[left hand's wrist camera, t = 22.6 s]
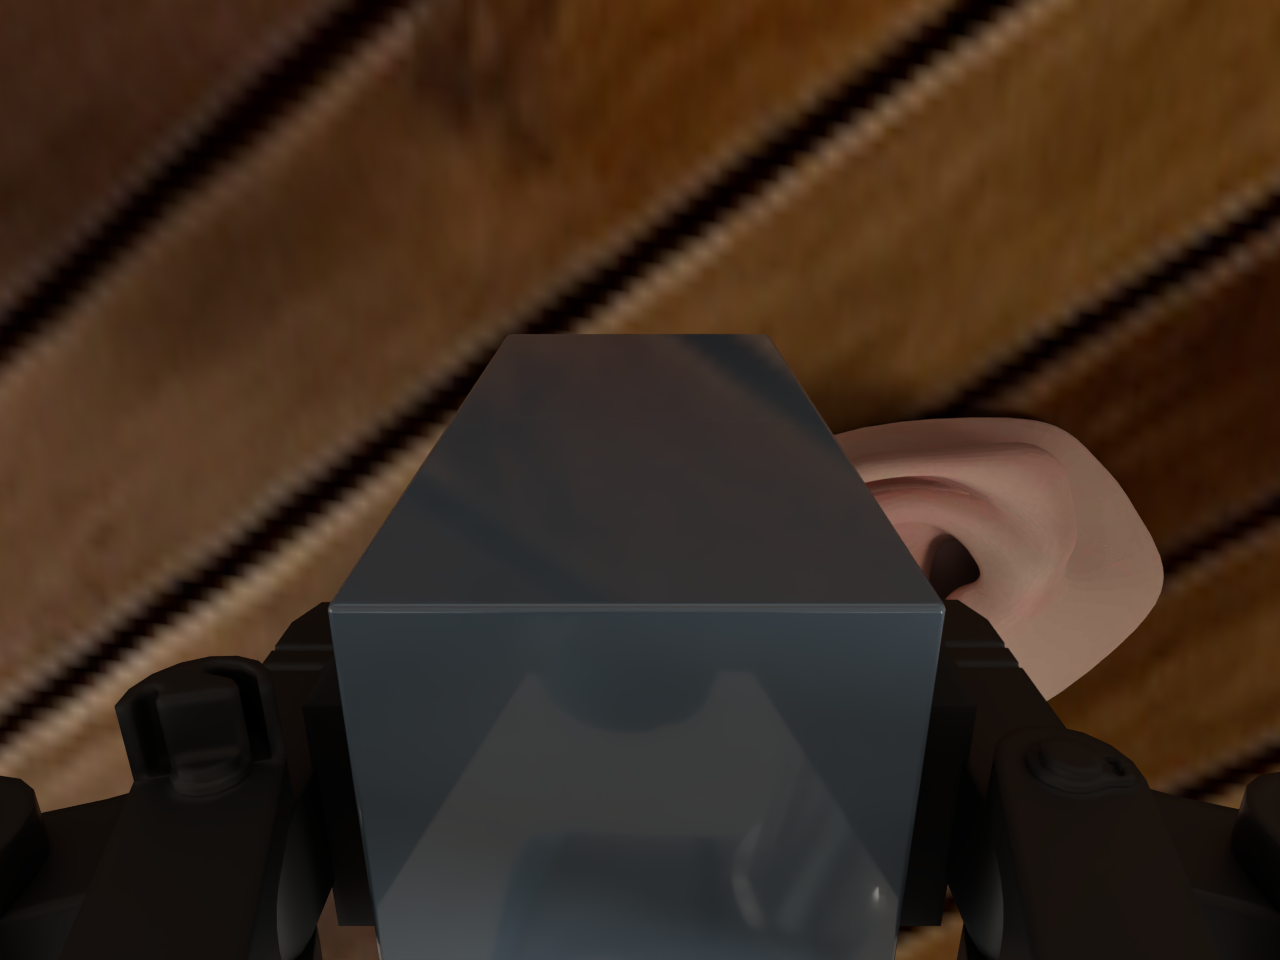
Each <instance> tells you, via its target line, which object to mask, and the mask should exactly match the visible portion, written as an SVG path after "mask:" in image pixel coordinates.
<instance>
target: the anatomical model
mask: <svg viewBox="0 0 1280 960" xmlns="http://www.w3.org/2000/svg"><path fill="white" fill-rule="evenodd" d="M834 436H835V438H836V439H837V441H838V442H839V444H840V445H841V447H842V448H843V450H844V452H845V453H846V455H847V456H848V458H849V459H850V461H851V462H852V464H853V465H854V467H855V468H856V470H857V472H858V473H859V475H860V476H861V478H862V479H863V481H864V482H865V484H866V485H867V487H868V488H869V490H870V491H871V493H872V495H873V496H874V498H875V499H876V501H877V502H878V504H879V505H880V507H881V508H882V510H883V511H884V513H885V514H886V516H887V518H888V519H889V521H890V522H891V524H892V525H893V527H894V528H895V530H896V531H897V533H898V534H899V536H900V538H901V539H902V541H903V542H904V544H905V545H906V547H907V548H908V550H909V551H910V553H911V554H912V556H913V557H914V559H915V561H916V562H917V564H918V565H919V567H920V568H921V570H922V571H923V573H924V574H925V576H926V577H927V579H928V581H929V582H930V584H931V585H932V587H933V588H934V590H935V591H936V593H937V594H938V596H939V597H940V599H958V600H959V601H961V602H962V603H964V604H965V605H967V606H968V607H970V608H971V609H973V610H974V611H976V612H977V613H979V614H980V615H982V616H983V617H985V618H986V619H988V621H989V622H990V623H991V625H992V626H993V627H994V629H995V630H996V632H997V633H998V634H999V636H1000V637H1001V639H1002V640H1003V641H1004V643H1005V648H1009V650H1010V651H1011V652H1012V654H1013V655H1014V657H1015V658H1016V659H1017V661H1018V662H1019V668H1023V669H1024V671H1025V672H1026V673H1027V675H1028V676H1029V677H1030V679H1031V680H1032V682H1033V683H1034V684H1035V686H1036V687H1037V689H1038V690H1039V691H1040V693H1041V694H1042V696H1043V697H1044V698H1045V700H1046V701H1048V700H1049V699H1051V698H1052V697H1054V696H1055V695H1057V694H1058V693H1060V692H1062V691H1063V690H1064V689H1066V688H1067V687H1068V686H1070V685H1071V684H1072V683H1074V682H1075V681H1076V680H1078V679H1079V678H1080V677H1082V676H1083V675H1084V674H1086V673H1087V672H1088V671H1090V670H1091V669H1092V668H1093V667H1094V666H1096V665H1097V664H1098V663H1099V662H1100V661H1101V660H1103V659H1104V658H1105V657H1106V656H1107V655H1109V654H1110V653H1111V652H1112V651H1113V650H1114V649H1116V648H1117V647H1118V646H1119V645H1120V644H1121V643H1122V642H1123V641H1124V640H1125V639H1126V638H1127V637H1128V636H1129V635H1130V634H1131V633H1132V632H1133V631H1134V630H1135V629H1136V628H1137V627H1138V626H1139V625H1140V623H1141V622H1142V621H1143V620H1144V619H1145V618H1146V616H1147V615H1148V614H1149V612H1150V611H1151V609H1152V608H1153V606H1154V605H1155V604H1156V602H1157V599H1158V597H1159V595H1160V592H1161V589H1162V585H1163V577H1164V576H1163V567H1162V562H1161V558H1160V555H1159V553H1158V551H1157V548H1156V546H1155V544H1154V541H1153V539H1152V537H1151V535H1150V533H1149V531H1148V530H1147V528H1146V526H1145V525H1144V523H1143V521H1142V520H1141V518H1140V517H1139V515H1138V513H1137V512H1136V510H1135V508H1134V507H1133V505H1132V503H1131V502H1130V500H1129V498H1128V497H1127V495H1126V494H1125V492H1124V491H1123V489H1122V488H1121V487H1120V485H1119V484H1118V482H1117V481H1116V480H1115V479H1114V478H1113V476H1112V475H1111V474H1110V473H1109V472H1108V471H1107V470H1106V469H1105V468H1104V466H1103V465H1102V464H1101V463H1100V462H1099V461H1098V460H1097V459H1096V458H1095V457H1094V456H1093V455H1092V454H1091V453H1090V452H1089V451H1088V449H1087V448H1086V447H1085V446H1083V445H1082V444H1081V443H1080V442H1079V441H1078V440H1077V439H1076V438H1074V437H1073V436H1072V435H1070V434H1069V433H1067V432H1066V431H1064V430H1062V429H1060V428H1058V427H1056V426H1053V425H1051V424H1048V423H1044V422H1040V421H1036V420H1027V419H1017V418H991V417H971V418H948V419H928V420H917V421H906V422H897V423H890V424H884V425H877V426H871V427H864V428H860V429H856V430H852V431H848V432H844V433H840V434H836V435H834Z"/></svg>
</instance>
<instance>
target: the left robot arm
mask: <svg viewBox="0 0 1280 960" xmlns="http://www.w3.org/2000/svg"><path fill="white" fill-rule="evenodd" d="M941 600H942V602H943V604H944V607H945V616H944V623H943V630H942V637H941V644H940V651H939V658H938V664H937V671H936V678H935V685H934V692H933V699H932V706H931V713H930V720H929V726H928V733H927V740H926V747H925V754H924V761H923V768H922V775H921V781H920V788H919V795H918V802H917V809H916V816H915V823H914V830H913V836H912V843H911V850H910V857H909V864H908V871H907V878H906V885H905V891H904V898H903V905H902V912H901V919H900V926H941V920H942V914H943V908H944V902H945V897H946V891H947V885H949V888H950V890H951V893H952V895H953V897H954V900H955V902H956V905H957V907H958V910H959V912H960V914H961V917H962V919H963V922H964V923H963V929H962V934H961V940H960V945H959V951H958V956H957V960H1280V772H1276V773H1270V774H1263V775H1259V776H1258V777H1257V778H1256V779H1254V780H1253V781H1252V782H1251V783H1249V784H1248V785H1247V786H1246V789H1245V793H1244V796H1243V799H1242V802H1241V805H1240V808H1239V809H1235V808H1230V807H1225V806H1221V805H1216V804H1211V803H1207V802H1202V801H1197V800H1192V799H1188V798H1183V797H1178V796H1173V795H1170V794H1166V793H1163V792H1159V791H1155V790H1152V789H1150V788H1149V786H1148V783H1147V781H1146V779H1145V778H1144V777H1143V775H1142V774H1141V772H1140V771H1139V770H1138V768H1137V767H1136V765H1135V764H1134V763H1133V761H1131V760H1130V759H1129V758H1127V757H1126V756H1125V755H1123V754H1122V753H1121V752H1119V751H1118V750H1117V749H1115V748H1114V747H1113V746H1111V745H1109V744H1107V743H1105V742H1103V741H1101V740H1098V739H1096V738H1094V737H1092V736H1090V735H1087V734H1085V733H1083V732H1078V731H1074V730H1070V729H1066V727H1065V726H1064V725H1063V723H1062V722H1061V721H1060V719H1059V718H1058V716H1057V715H1056V714H1055V712H1054V711H1053V709H1052V708H1051V707H1050V705H1049V704H1048V702H1047V701H1046V700H1045V698H1044V697H1043V696H1042V694H1041V693H1040V691H1039V690H1038V689H1037V687H1036V686H1035V684H1034V683H1033V682H1032V680H1031V679H1030V677H1029V676H1028V675H1027V673H1026V672H1025V671H1024V669H1023V668H1019V662H1018V661H1017V659H1016V658H1015V657H1014V655H1013V654H1012V652H1011V651H1010V650H1009V648H1005V643H1004V641H1003V640H1002V639H1001V637H1000V636H999V634H998V633H997V632H996V630H995V629H994V627H993V626H992V625H991V623H990V622H989V621H988V619H986V618H985V617H983V616H982V615H980V614H979V613H977V612H976V611H974V610H973V609H971V608H970V607H968V606H967V605H965V604H964V603H962V602H961V601H959V600H958V599H941ZM330 603H331V602H322V603H320V604H319V605H317V606H316V607H314V608H313V609H311V610H310V611H308V612H307V613H305V614H304V615H302V616H301V617H299V618H298V619H296V620H295V621H293V622H292V623H291V625H290V626H289V627H288V629H287V630H286V632H285V633H284V634H283V636H282V637H281V639H280V640H279V641H278V643H277V644H276V645H275V651H271V652H270V654H269V655H268V657H267V658H266V659H265V661H264V662H263V664H262V663H260V662H259V661H257V660H253V659H249V658H244V657H240V656H210V657H205V658H201V659H196V660H191V661H186V662H182V663H179V664H176V665H174V666H171V667H169V668H166V669H164V670H161V671H159V672H156V673H154V674H152V675H150V676H149V677H147V678H145V679H144V680H142V681H141V682H139V683H138V684H136V685H135V686H133V687H132V688H130V689H129V690H128V691H127V692H126V693H125V694H124V696H123V697H122V698H121V699H120V700H119V701H118V703H117V704H116V705H115V710H116V714H117V718H118V721H119V725H120V729H121V733H122V737H123V741H124V744H125V748H126V752H127V756H128V760H129V763H130V767H131V771H132V775H133V779H134V783H133V785H132V787H131V790H130V792H129V793H127V794H124V795H120V796H116V797H113V798H109V799H105V800H100V801H96V802H91V803H86V804H82V805H77V806H72V807H68V808H63V809H58V810H53V811H49V812H44V813H41V811H40V808H39V805H38V801H37V798H36V795H35V792H34V789H32V788H31V787H30V786H29V785H27V784H26V783H25V782H24V781H23V780H21V779H18V778H11V777H5V776H0V960H323V959H322V953H321V946H320V940H319V934H318V929H317V922H318V920H319V917H320V915H321V913H322V910H323V908H324V905H325V903H326V900H327V898H328V895H329V893H330V891H331V888H333V894H334V900H335V906H336V912H337V918H338V924H339V926H375V925H374V919H373V912H372V905H371V898H370V891H369V885H368V878H367V871H366V864H365V858H364V851H363V844H362V837H361V830H360V824H359V817H358V810H357V803H356V797H355V790H354V783H353V776H352V770H351V763H350V756H349V749H348V742H347V736H346V729H345V722H344V715H343V709H342V702H341V695H340V688H339V681H338V675H337V668H336V661H335V654H334V648H333V641H332V634H331V627H330V621H329V614H328V608H329V605H330Z"/></svg>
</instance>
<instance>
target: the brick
mask: <svg viewBox="0 0 1280 960" xmlns="http://www.w3.org/2000/svg"><path fill="white" fill-rule="evenodd" d="M328 614H329V621H330V627H331V634H332V641H333V648H334V654H335V661H336V668H337V675H338V681H339V688H340V695H341V702H342V709H343V715H344V722H345V729H346V736H347V742H348V749H349V756H350V763H351V770H352V776H353V783H354V790H355V797H356V803H357V810H358V817H359V824H360V830H361V837H362V844H363V851H364V858H365V864H366V871H367V878H368V885H369V891H370V898H371V905H372V912H373V919H374V925H375V932H376V939H377V946H378V952H379V959H380V960H895V953H896V946H897V940H898V933H899V926H900V919H901V912H902V905H903V898H904V891H905V885H906V878H907V871H908V864H909V857H910V850H911V843H912V836H913V830H914V823H915V816H916V809H917V802H918V795H919V788H920V781H921V775H922V768H923V761H924V754H925V747H926V740H927V733H928V726H929V720H930V713H931V706H932V699H933V692H934V685H935V678H936V671H937V664H938V658H939V651H940V644H941V637H942V630H943V623H944V616H945V607H944V604H943V602H942V600H941V599H940V597H939V596H938V594H937V593H936V591H935V590H934V588H933V587H932V585H931V584H930V582H929V581H928V579H927V577H926V576H925V574H924V573H923V571H922V570H921V568H920V567H919V565H918V564H917V562H916V561H915V559H914V557H913V556H912V554H911V553H910V551H909V550H908V548H907V547H906V545H905V544H904V542H903V541H902V539H901V538H900V536H899V534H898V533H897V531H896V530H895V528H894V527H893V525H892V524H891V522H890V521H889V519H888V518H887V516H886V514H885V513H884V511H883V510H882V508H881V507H880V505H879V504H878V502H877V501H876V499H875V498H874V496H873V495H872V493H871V491H870V490H869V488H868V487H867V485H866V484H865V482H864V481H863V479H862V478H861V476H860V475H859V473H858V472H857V470H856V468H855V467H854V465H853V464H852V462H851V461H850V459H849V458H848V456H847V455H846V453H845V452H844V450H843V448H842V447H841V445H840V444H839V442H838V441H837V439H836V438H835V436H834V435H833V433H832V432H831V430H830V429H829V427H828V425H827V424H826V422H825V421H824V419H823V418H822V416H821V415H820V413H819V412H818V410H817V409H816V407H815V406H814V404H813V402H812V401H811V399H810V398H809V396H808V395H807V393H806V392H805V390H804V389H803V387H802V386H801V384H800V382H799V381H798V379H797V378H796V376H795V375H794V373H793V372H792V370H791V369H790V367H789V366H788V364H787V363H786V361H785V359H784V358H783V356H782V355H781V353H780V352H779V350H778V349H777V347H776V346H775V344H774V343H773V341H772V340H771V338H770V336H769V335H766V334H510V335H508V336H507V337H506V339H505V340H504V342H503V343H502V345H501V346H500V348H499V349H498V351H497V352H496V354H495V355H494V357H493V358H492V360H491V361H490V363H489V364H488V366H487V367H486V369H485V370H484V372H483V373H482V375H481V376H480V378H479V379H478V381H477V382H476V384H475V385H474V387H473V388H472V390H471V391H470V393H469V395H468V396H467V398H466V399H465V401H464V402H463V404H462V405H461V407H460V408H459V410H458V411H457V413H456V414H455V416H454V417H453V419H452V420H451V422H450V423H449V425H448V426H447V428H446V429H445V431H444V432H443V434H442V435H441V437H440V438H439V440H438V441H437V443H436V444H435V446H434V447H433V449H432V450H431V452H430V453H429V455H428V456H427V458H426V459H425V461H424V462H423V464H422V465H421V467H420V468H419V470H418V471H417V473H416V474H415V476H414V477H413V479H412V480H411V482H410V483H409V485H408V486H407V488H406V489H405V491H404V492H403V494H402V495H401V497H400V499H399V500H398V502H397V503H396V505H395V506H394V508H393V509H392V511H391V512H390V514H389V515H388V517H387V518H386V520H385V521H384V523H383V524H382V526H381V527H380V529H379V530H378V532H377V533H376V535H375V536H374V538H373V539H372V541H371V542H370V544H369V545H368V547H367V548H366V550H365V551H364V553H363V554H362V556H361V557H360V559H359V560H358V562H357V563H356V565H355V566H354V568H353V569H352V571H351V572H350V574H349V575H348V577H347V578H346V580H345V581H344V583H343V584H342V586H341V587H340V589H339V590H338V592H337V593H336V595H335V596H334V598H333V600H332V601H331V603H330V605H329V608H328Z"/></svg>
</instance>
